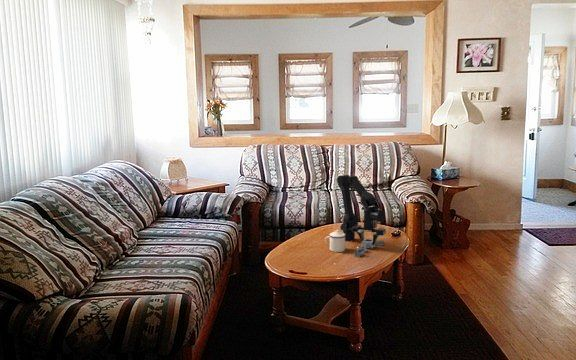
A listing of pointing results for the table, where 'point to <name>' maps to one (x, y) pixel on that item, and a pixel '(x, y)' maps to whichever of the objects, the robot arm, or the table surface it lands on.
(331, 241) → the teacup with lid
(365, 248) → the link
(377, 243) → the grey peg holder
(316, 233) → the table surface
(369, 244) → the end link
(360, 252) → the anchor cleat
